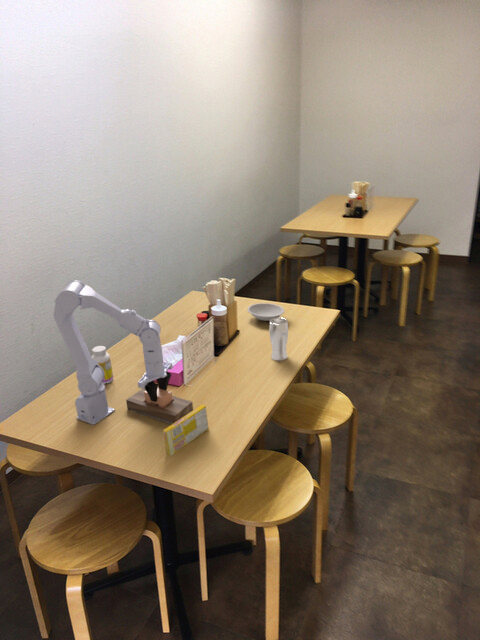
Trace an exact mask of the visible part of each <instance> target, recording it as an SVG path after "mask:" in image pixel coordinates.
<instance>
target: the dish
mask: <svg viewBox="0 0 480 640" xmlns="http://www.w3.org/2000/svg"><path fill="white" fill-rule="evenodd" d="M247 312H248V313H249V314H250V315H251V316H253V318H255V319H257V320H259V321H264V322H268V321H269V322H270V320H271V319H273V318H280V317H281V316H282V315H284V313H285V309H284V307H283V306H281V305H279V304H275V303H269V302H268V303H267V302H259V303H254V304H250V305H249V306H248V307H247Z"/></svg>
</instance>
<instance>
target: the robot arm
mask: <svg viewBox="0 0 480 640" xmlns="http://www.w3.org/2000/svg"><path fill="white" fill-rule="evenodd" d="M54 302H55V303H54V311H53V320H54V321H55V323H56V326H57V327H58V331H59V332H60V334H61V336H62V338H63V341H64V343H65V345H66V348H67V350H68V352H69V354H70V356H71V358H72V361H73V363H74V364H75V368H76V379H77V382H78V383H77V389H78V390H79V392H80V394H79V396H78V397H77V398H76V399H75V402H74V403H75V408H76V414H77V415H76V416H75V417H76V419H77V420H80V421H82V422H85V423H87V424H89V425H93V426H94V425H96V424H97V423H99V422H101V420H103V419H105V418H106V417H107V416H109V415H110V414H112V413H114V412H115V408H112V407H109V404H108V397H107V392H106V387H105V386H106V385H105V384H103V382H102V379H103V378H104V375H105V373H104V370H103V369H102V368H101V367H100V366H99V365H98V363H97V361H96V360H94V359H92V355H91V353H90V350H89V349H88V346H87V344H86V342H85V339H84V336H83V335H82V332H81V331H80V328H79V325H78V323H77V321H76V319H75V317H74V312H75V311H76V310H77V308H78V307H79V306H80V308H79V309H80V310H85V309H90V308H92V309H95V310H97V311H98V312H101V313H102V314H105V315H106V316H109V317H110V318H113V319H115V320H116V322H117V324H118V327H120V328H122V329H124V330H126V331H127V332H129V333H131V334H133V335H134V336H135V337H138V339H139V341H140V343H141V344H142V353H143V359H144V367H145V372H144V374H143V375H142V377H140V379H139V380H138V381H137V387H138V388H140V389H143V388H145V390H146V391H147V393H148V395H149V397H150V399H151V401H154V402H156V401H157V388H159V389H163V390H166V391H168V386H169V382H170V380H171V377H172V373H171V372H168V371H169V370H172V369H174V368H173V367H174V366H173V363H172V362H170V361H166V362H165V363H164V357H163V347H162V343H161V342H162V341H161V337H160V335H161V325H160V324H159V322H158V321H156V320H154V319H149V318H147V319H146V318H144V317H142V316H141V315H139V314H138V313H137V311H136V310H135V309H132V310H131V309H130V308H126V309H122V308H120V307H119V306H117V304H114V303H113V302H112V301H110V300H108V299H107V298H105V297H104V296H102V295H101V294H99V293H98V292H96V291H95V290H94V289H93V288H92V287H91V286H89V285H87V284H85V283H84V282H82V281H80V280H76V279H75V280H71V281H69V282H68V283H67V284H66V285H65V287H64V288H63V289H62V291H61V292H60V293H59V294H58V295H57V297H56V298H55V300H54ZM155 380H156V382H155Z"/></svg>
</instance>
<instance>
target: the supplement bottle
mask: <svg viewBox="0 0 480 640" xmlns="http://www.w3.org/2000/svg"><path fill="white" fill-rule="evenodd" d="M106 348H107V347H106V346H104V345H96V346H94V347H93V348H92V349H91V352H92V355H91V357H92V359H94V360H96V361H97V363H98V365H99V366H100V367H101V368H102V369H103V370H104V373H105V375H104V378H103V379H102V382H103V384H104V385H107V384H109V383H111V382H113V380H114V374H113V368H112V360H111V355H110V353H108V352H107V349H106ZM106 383H107V384H106Z"/></svg>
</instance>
